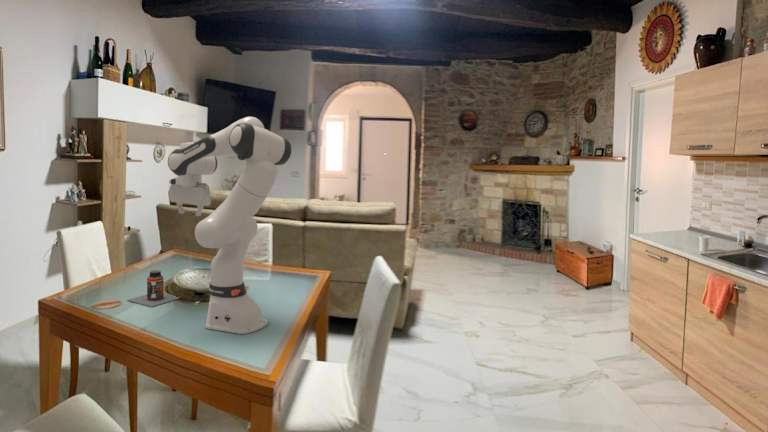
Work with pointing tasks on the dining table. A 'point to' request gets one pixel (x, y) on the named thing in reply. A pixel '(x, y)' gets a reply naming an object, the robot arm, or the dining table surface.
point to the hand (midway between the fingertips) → (189, 214)
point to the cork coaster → (106, 304)
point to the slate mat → (152, 303)
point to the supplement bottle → (155, 285)
